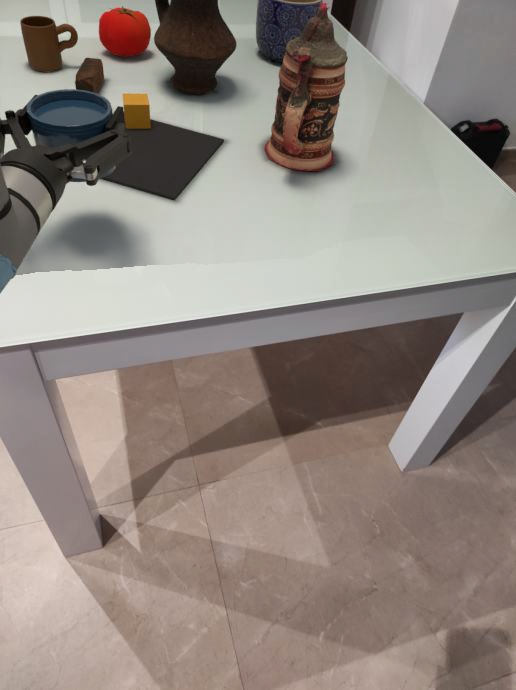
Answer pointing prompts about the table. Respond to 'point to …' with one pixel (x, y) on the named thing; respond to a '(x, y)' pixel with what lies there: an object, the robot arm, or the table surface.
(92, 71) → the brick
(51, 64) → the mug
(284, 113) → the beer stein
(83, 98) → the blue paint bucket
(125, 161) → the mat
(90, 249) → the table surface
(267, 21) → the planter
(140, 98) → the block
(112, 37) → the tomato
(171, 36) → the jug
